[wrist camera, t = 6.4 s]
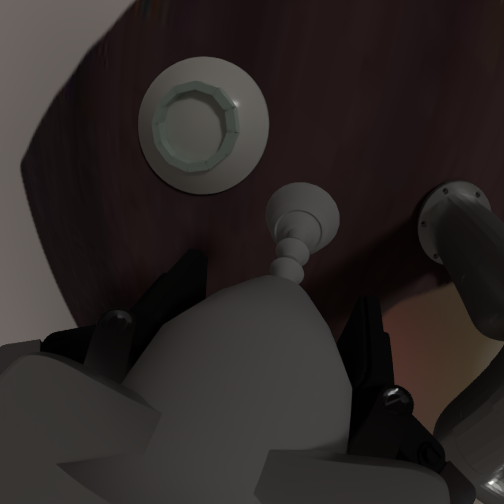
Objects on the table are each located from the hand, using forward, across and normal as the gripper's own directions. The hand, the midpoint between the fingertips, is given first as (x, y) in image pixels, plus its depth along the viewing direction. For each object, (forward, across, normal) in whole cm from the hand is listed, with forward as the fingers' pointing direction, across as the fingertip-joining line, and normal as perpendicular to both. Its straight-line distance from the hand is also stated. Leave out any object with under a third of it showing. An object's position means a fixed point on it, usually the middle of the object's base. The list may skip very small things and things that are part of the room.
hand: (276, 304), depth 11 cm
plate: (+28, +17, -3) cm, 33 cm away
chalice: (+9, 0, 0) cm, 9 cm away
